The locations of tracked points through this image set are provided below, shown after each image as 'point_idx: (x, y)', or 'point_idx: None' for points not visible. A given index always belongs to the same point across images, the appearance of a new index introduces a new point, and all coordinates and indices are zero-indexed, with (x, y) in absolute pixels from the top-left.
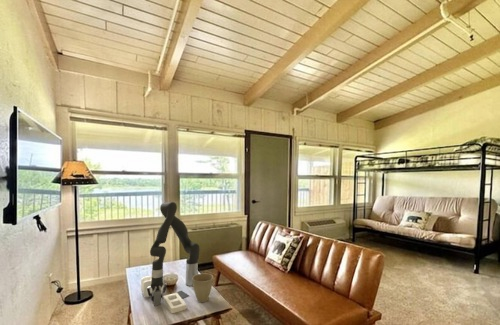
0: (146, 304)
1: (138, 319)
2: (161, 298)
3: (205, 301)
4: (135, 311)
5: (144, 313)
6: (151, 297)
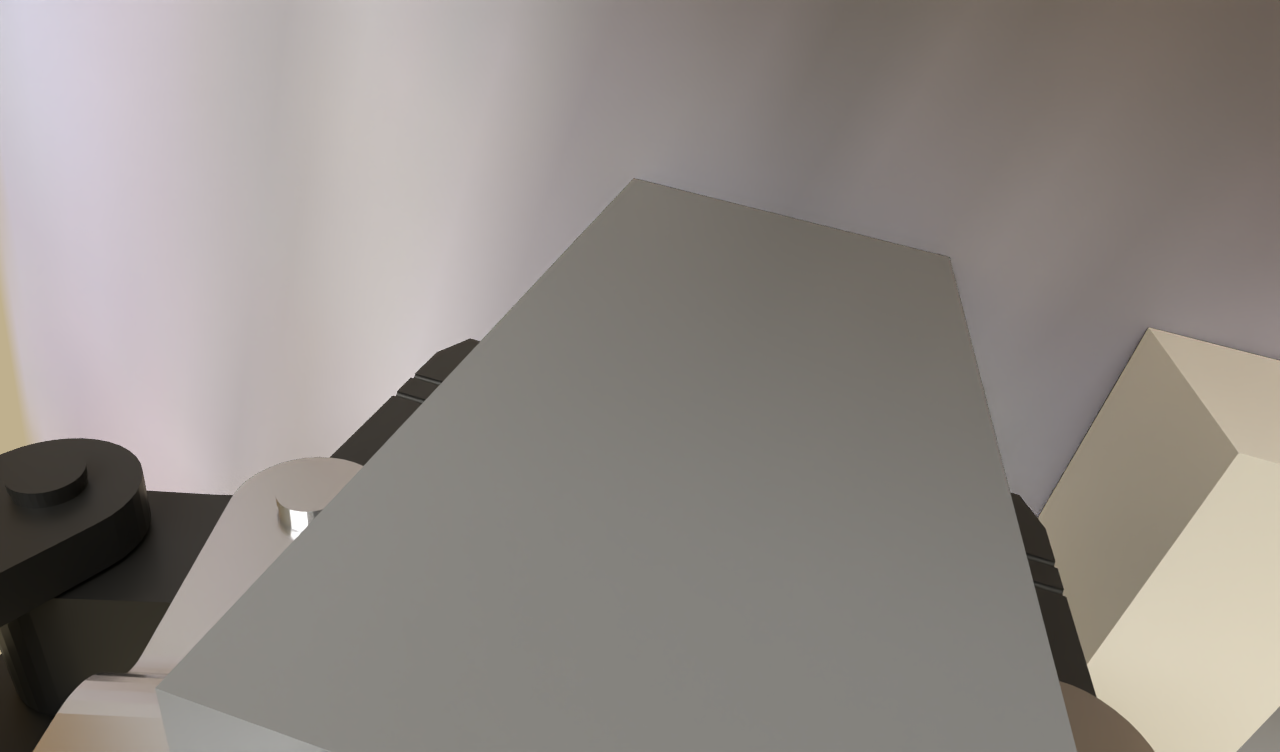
0: (387, 108)
1: None
2: None
3: None
4: (14, 294)
5: None
6: None
